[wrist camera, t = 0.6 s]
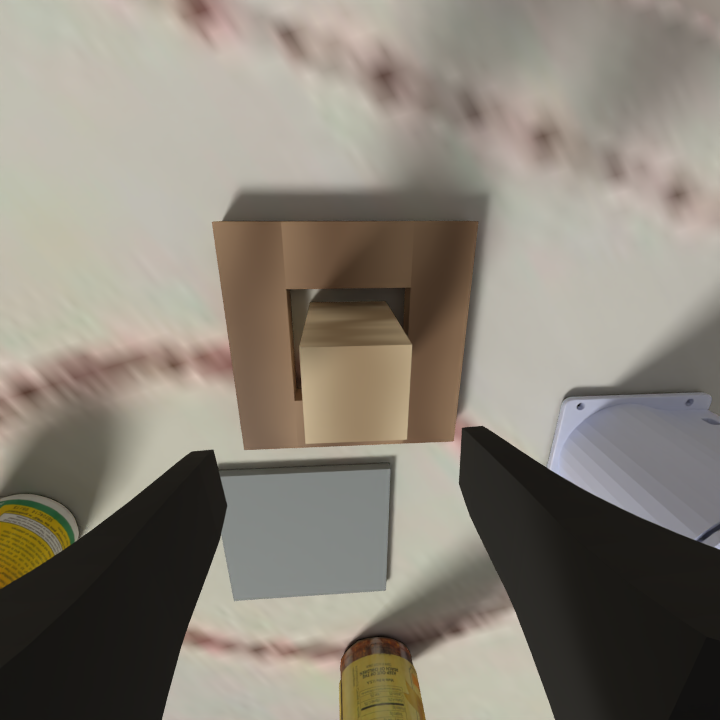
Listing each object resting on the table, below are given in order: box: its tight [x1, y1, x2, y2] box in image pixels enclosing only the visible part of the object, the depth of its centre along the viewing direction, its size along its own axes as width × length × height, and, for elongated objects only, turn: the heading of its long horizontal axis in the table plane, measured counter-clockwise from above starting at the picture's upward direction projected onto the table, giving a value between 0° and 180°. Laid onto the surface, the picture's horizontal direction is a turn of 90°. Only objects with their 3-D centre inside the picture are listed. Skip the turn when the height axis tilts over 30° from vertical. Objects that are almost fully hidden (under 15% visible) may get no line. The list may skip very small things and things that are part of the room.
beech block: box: [299, 301, 412, 444], centre depth 17 cm, size 4×4×7 cm
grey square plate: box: [219, 463, 390, 601], centre depth 25 cm, size 11×11×1 cm
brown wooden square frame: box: [212, 221, 478, 450], centre depth 19 cm, size 12×12×2 cm
